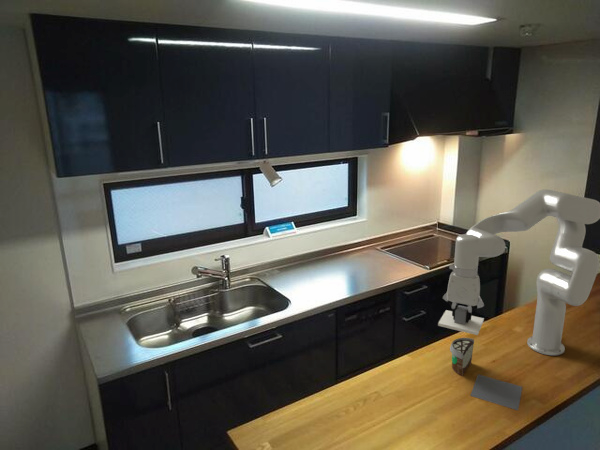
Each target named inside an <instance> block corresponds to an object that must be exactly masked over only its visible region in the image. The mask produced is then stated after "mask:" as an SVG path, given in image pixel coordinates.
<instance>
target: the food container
mask: <svg viewBox="0 0 600 450" xmlns="http://www.w3.org/2000/svg"><path fill="white" fill-rule="evenodd" d="M474 345H475V339H474V338H471V337H460V338H455V339H454V340H453V341H452V342H451V344H450V346H449V350H450V353H451V367H452V370H453V372H454V373H456V374H457V375H459V376H461V377H463V376H464V374H465V373H466V371H467V369H468V368H469V367H470V365H471V364H472V360H473V351H474Z"/></svg>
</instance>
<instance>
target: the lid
mask: <svg viewBox="0 0 600 450" xmlns="http://www.w3.org/2000/svg"><path fill="white" fill-rule="evenodd" d="M457 306H458V307H457V309H456V311H455V320H453V317H454V316H452V310H447V309H446V310H445V311H444V312H443V314H442V316H441V317H440V319H439V320H438V322H437V326H438V327H442V328H447V329H450V330H455V331H458V332H461V333H467V334H471V335H475V336H478V335H479V333H480V331H481V328H482V326H483V324H484V321H485V318H484V317H479V316H475V315H472V316H471V320H469V321H468V323H466V313H467V310H468V306H464V305H458V304H457Z"/></svg>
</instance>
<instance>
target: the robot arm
mask: <svg viewBox="0 0 600 450" xmlns="http://www.w3.org/2000/svg"><path fill="white" fill-rule="evenodd" d="M549 216H550V217H552V218H556V220H557V226H558V227H557V232H556V236H555V239H554V242H553V244H552V247H551V251H550V255H549V261H550V263H551V264H553V265H554V266H555V267H557V268H560V269H562V270H565V271H568V272H570V273H571V275H569V274H568V273H565V272H563V271H561V270H558V269H555V268H546V269H543V270H541V271H540V272H539V273H538V275H537V278H536V283H535V284H536V292H537V293H536V295H537V297H536V300H537V301H536V307H535V315H534V323H533V332H532V336H530V337H528V338H527V342H526V344H527V346H528V347H529V348H530V349H531V350H533V351H534V352H537V353H539V354H542V355H545V356H546V355H547V356H560V355H562V354H564V353H565V350H566V349H565V348H566V347H565V346H564V344H563V343H562V336H563V331H564V324H565V323H564V322H565V317H566V310H567V306H566V305H567V304H568V305H570V306H572V307H573V306H574V307H579V306H581V305H583V304H584V303H585V302H586V301H587V300H588V298H589V296H590V293H591V291H592V288H593V286H594V283H595V280H596V277H597V275H598V272H599V269H600V259H599V256H598V254H597V253H596V252H595V251H593V250H590V249H588V248H585V247H583V244H584V240H585V238H586V237H585V236H586V230H587V229H586V225H592V224H594V223H596V222H598V221H599V220H600V202H599V201H598V200H596V199H593V198H590V197H589V198H588V197H582V196H578V195H575V194H571V193H568V192H567V193H566V192H562V191H557V190H553V189H541V190H539V191H536V192H535V193H534V194H532V195H531V196H529V197H527V198H525V200H524V201H522V202H521V203H519V204H518V205H516V206H515V207H514V208H512V209H510V210H508V211H502V212H501V213H497V214H494V215H491V216H487V217H485V218H482V219H480V221H478V222H477V223H475V224H474V225H473V226H471V227H470V228H469V229H468V230H467V231H466V233H464V234H459V235H457V237H456V238H455V246H454V247H455V248H454V259H453V261H454V262H453V264H449V266H448V267H449V270H452V271H451V272H450V275H449V278H448V279H449V280H448V284H447V291H446V293H444V295H443V296H442V299H443V300H444V301H445V302H447V303H448V304H449V305H448V306H450V307H451V311H452V316H454V317H453V320H455V311H456V309H457V307H458V304H462V305H466V306H467V307H468V310H467V313H466V323H468V321H469V320H471V316H473V315H472V313H473V311H476V310H477V309H481V308H483V307H485V304H484V302H483V300H482V298H481V296H480V295H481V282H480V281H481V280H480V276H479V274H478V271H479V270H478V269H479V267H478V266H479V259H480V257H481V258H495V257H496V258H497V257H498V256H500V255H502V254H503V253H504V251H505V250H506V242H505V241H504V239H503V238H502V237H500V236H499V235H497V234H500V233H506V232H511V233H512V232H517V233H518V232H525V231H528V230H530V229H532V228H533V227H534V226H535V225H536V224H539V223H540V222H541V221H542V220H544V219H545V218H546V217H549Z"/></svg>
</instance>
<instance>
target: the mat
mask: <svg viewBox="0 0 600 450" xmlns="http://www.w3.org/2000/svg"><path fill="white" fill-rule="evenodd" d="M522 391H523V386H521V385H518V384H514V383H510V382H507V381H503V380H499V379H496V378H492V377H489V376H485V375H482V374H477V376H476V378H475V381H474V384H473V386H472V390H471V393H470V397H473V398H477V399H479V400H483V401H486V402H490V403H493V404H497V405H499V406H502V407H505V408H508V409H513V410H516V411H519V408H520V402H521V398H522V393H523V392H522Z"/></svg>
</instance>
